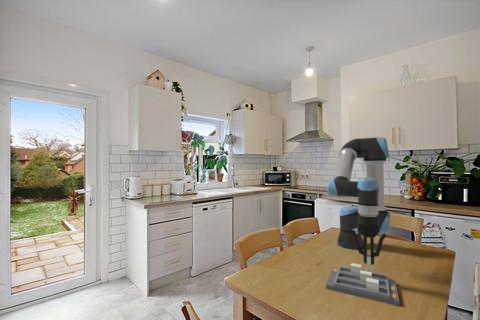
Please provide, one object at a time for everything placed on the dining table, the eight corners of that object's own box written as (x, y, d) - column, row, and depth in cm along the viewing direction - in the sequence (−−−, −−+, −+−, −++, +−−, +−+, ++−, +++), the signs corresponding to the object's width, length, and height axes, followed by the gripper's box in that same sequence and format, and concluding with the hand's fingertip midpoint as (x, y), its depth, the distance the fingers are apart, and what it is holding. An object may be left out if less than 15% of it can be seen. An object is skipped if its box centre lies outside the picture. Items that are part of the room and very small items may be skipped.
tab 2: (360, 280, 97) (360, 270, 97) (371, 282, 95) (371, 272, 95) (360, 283, 94) (360, 273, 94) (371, 285, 92) (371, 275, 92)
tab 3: (366, 288, 90) (366, 277, 90) (378, 290, 88) (378, 279, 88) (366, 291, 88) (366, 280, 88) (378, 294, 86) (378, 283, 86)
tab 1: (351, 272, 104) (351, 263, 104) (361, 274, 102) (361, 264, 102) (350, 274, 101) (350, 265, 101) (361, 277, 99) (361, 267, 99)
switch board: (333, 270, 109) (332, 264, 109) (395, 283, 97) (395, 276, 97) (326, 288, 93) (326, 281, 93) (399, 306, 81) (399, 298, 81)
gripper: (350, 215, 100) (351, 271, 99) (386, 218, 93) (387, 279, 92) (352, 212, 106) (352, 265, 106) (386, 214, 100) (387, 271, 99)
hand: (369, 271), depth 99 cm, fingers closed
